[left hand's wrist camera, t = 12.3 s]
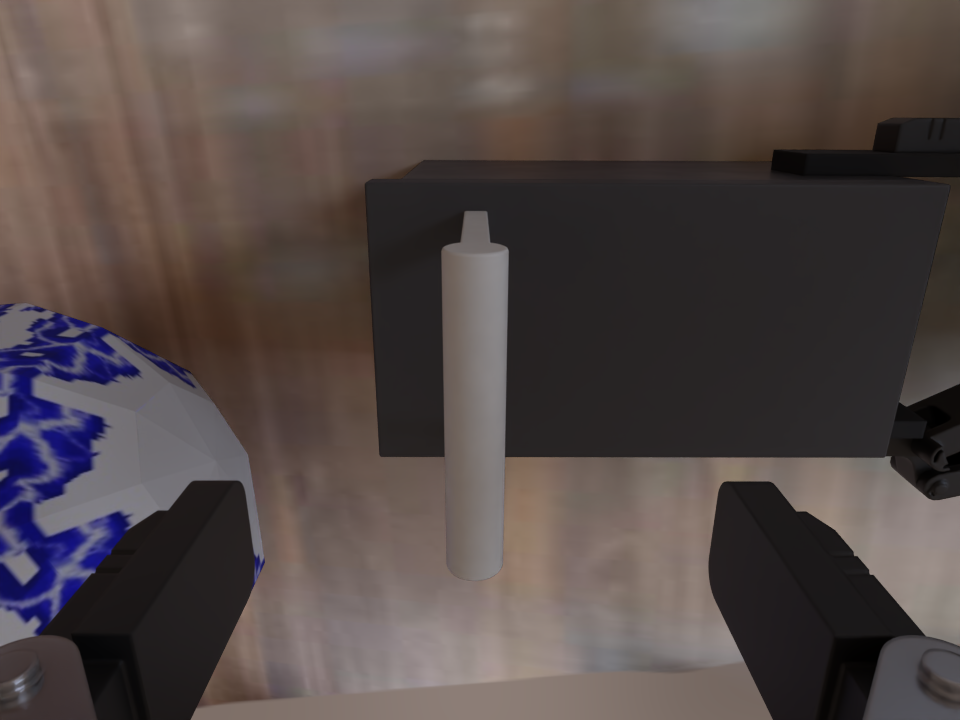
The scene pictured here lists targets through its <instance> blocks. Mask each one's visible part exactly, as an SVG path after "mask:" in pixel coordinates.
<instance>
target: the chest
mask: <svg viewBox="0 0 960 720" xmlns="http://www.w3.org/2000/svg"><path fill="white" fill-rule="evenodd" d="M771 165H772V161H498V160H424V161H422V162H421V163H420V164H419V165H417V166H416V167H415V168H414V169H413V170H411V171H410V172H409V173H408V174H407V175H406V176H404V177H403V178H402V179H502V180H788V181H923V180H917V179H910V178H903V177H897V176H802V175H797V174H792V173H786V172H781V171H776V170H771Z"/></svg>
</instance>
